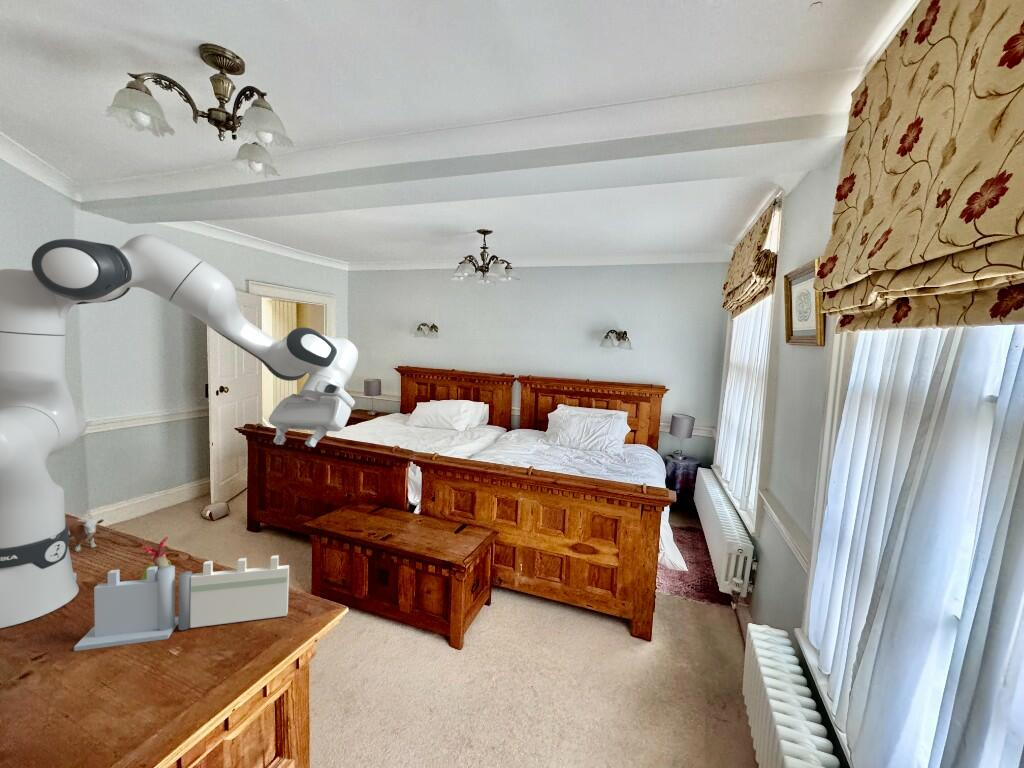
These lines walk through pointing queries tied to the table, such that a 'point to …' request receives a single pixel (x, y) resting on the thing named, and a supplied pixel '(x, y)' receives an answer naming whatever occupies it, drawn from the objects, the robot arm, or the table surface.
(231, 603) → the fence panel
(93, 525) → the bull figurine
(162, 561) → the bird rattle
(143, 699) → the table surface
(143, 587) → the grey toy wall
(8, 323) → the robot arm
